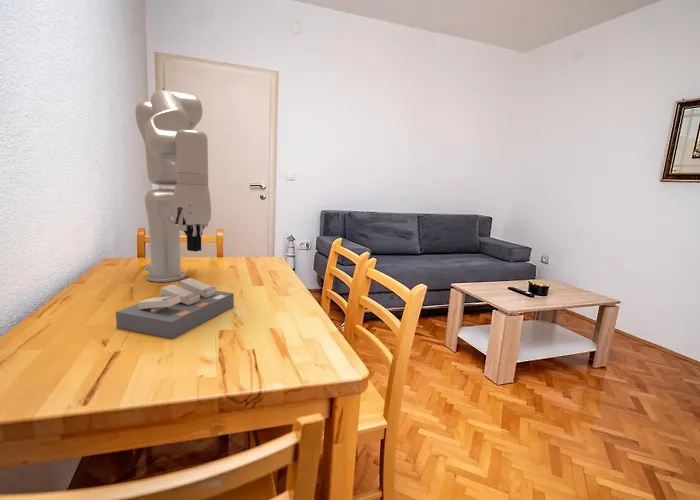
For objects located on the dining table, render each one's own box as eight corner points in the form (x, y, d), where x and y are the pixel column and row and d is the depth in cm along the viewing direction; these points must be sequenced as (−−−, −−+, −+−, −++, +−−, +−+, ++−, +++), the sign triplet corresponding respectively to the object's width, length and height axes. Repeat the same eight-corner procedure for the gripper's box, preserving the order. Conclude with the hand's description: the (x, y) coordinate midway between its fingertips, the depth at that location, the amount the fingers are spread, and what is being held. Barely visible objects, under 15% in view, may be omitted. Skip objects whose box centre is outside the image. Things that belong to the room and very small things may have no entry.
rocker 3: (179, 286, 102) (180, 280, 101) (189, 282, 105) (190, 276, 105) (206, 297, 100) (207, 291, 99) (215, 293, 103) (216, 287, 103)
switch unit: (116, 327, 87) (115, 308, 87) (187, 299, 110) (186, 283, 109) (172, 338, 83) (171, 318, 82) (233, 306, 106) (233, 290, 105)
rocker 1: (139, 309, 89) (137, 301, 88) (152, 304, 92) (150, 296, 92) (168, 306, 86) (167, 298, 86) (181, 301, 90) (179, 294, 89)
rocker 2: (159, 293, 95) (160, 286, 94) (171, 289, 99) (172, 283, 98) (188, 305, 93) (189, 298, 92) (199, 300, 97) (200, 294, 96)
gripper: (198, 180, 102) (199, 245, 106) (158, 179, 88) (161, 254, 92) (222, 181, 101) (223, 247, 104) (185, 180, 86) (187, 257, 90)
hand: (194, 250), depth 98 cm, fingers closed
